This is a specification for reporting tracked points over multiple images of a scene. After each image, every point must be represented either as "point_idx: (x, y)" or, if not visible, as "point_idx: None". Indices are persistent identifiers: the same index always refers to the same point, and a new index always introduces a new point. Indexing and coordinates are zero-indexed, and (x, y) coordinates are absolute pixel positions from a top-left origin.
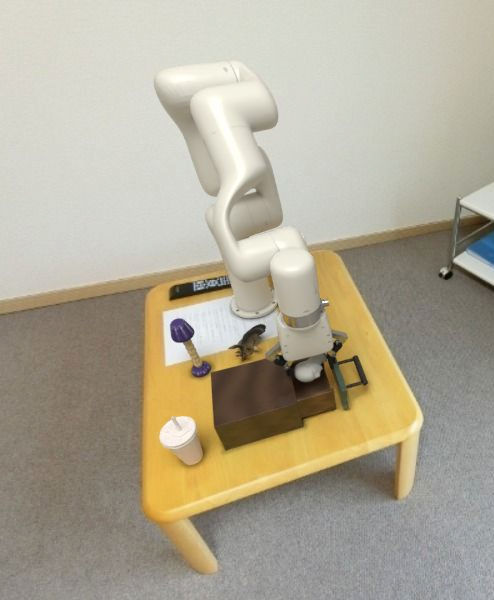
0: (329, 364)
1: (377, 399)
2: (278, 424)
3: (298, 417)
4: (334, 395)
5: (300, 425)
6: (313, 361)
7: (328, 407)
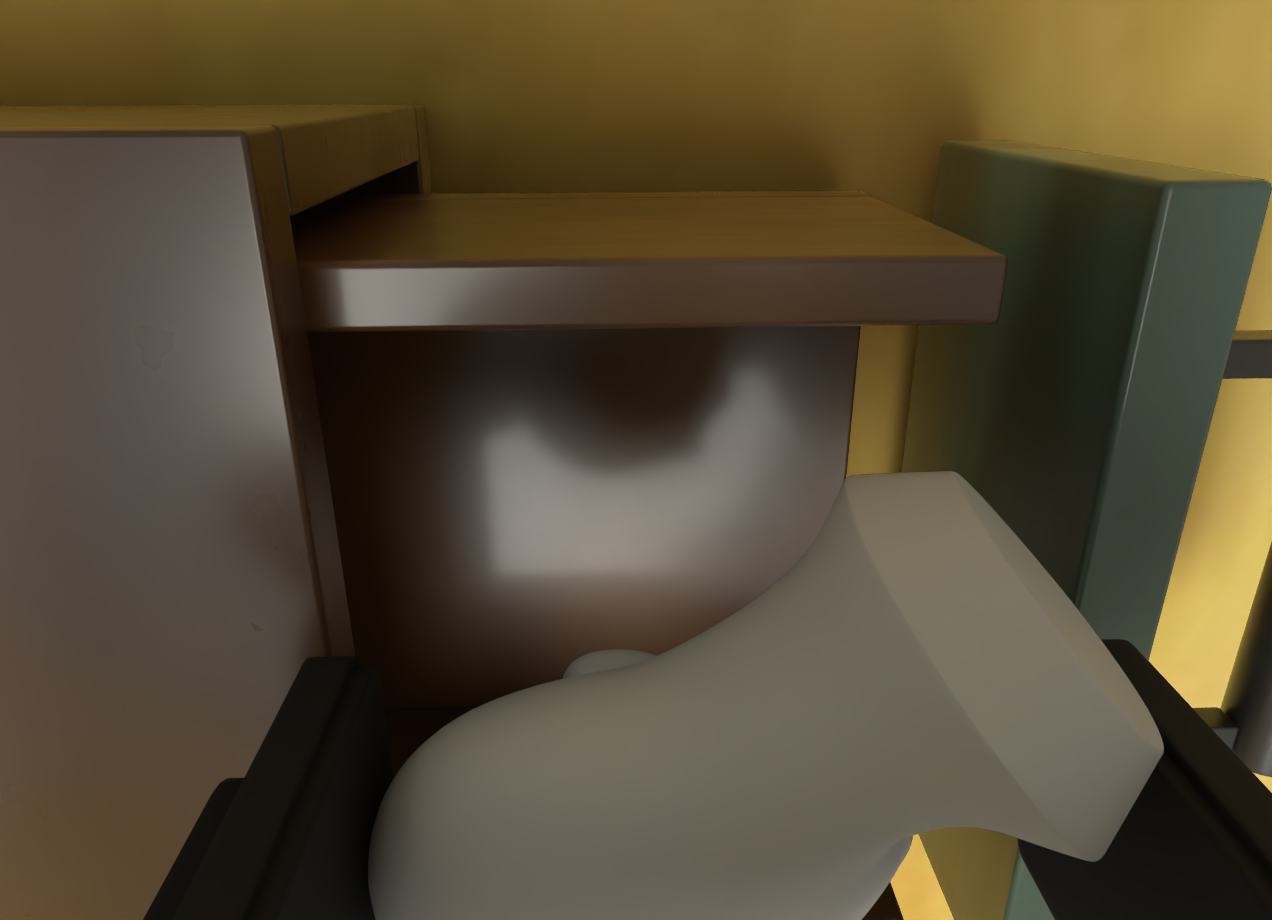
0: (1072, 887)
1: (1193, 661)
2: None
3: None
4: None
5: None
6: (816, 891)
7: None
